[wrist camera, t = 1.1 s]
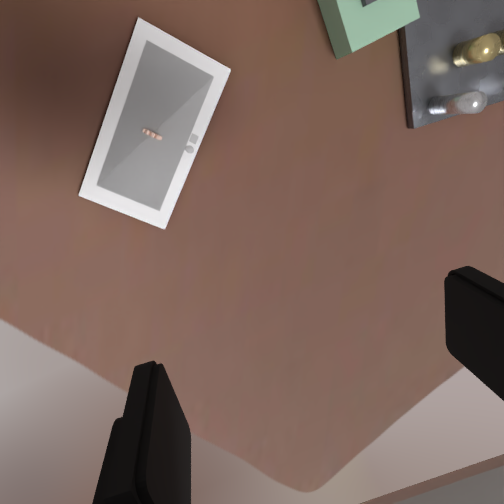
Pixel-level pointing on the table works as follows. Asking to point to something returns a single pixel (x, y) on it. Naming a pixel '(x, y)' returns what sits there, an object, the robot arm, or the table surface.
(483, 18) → the chassis
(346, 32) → the green block
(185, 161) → the touchpad
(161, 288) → the table surface
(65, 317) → the table surface
